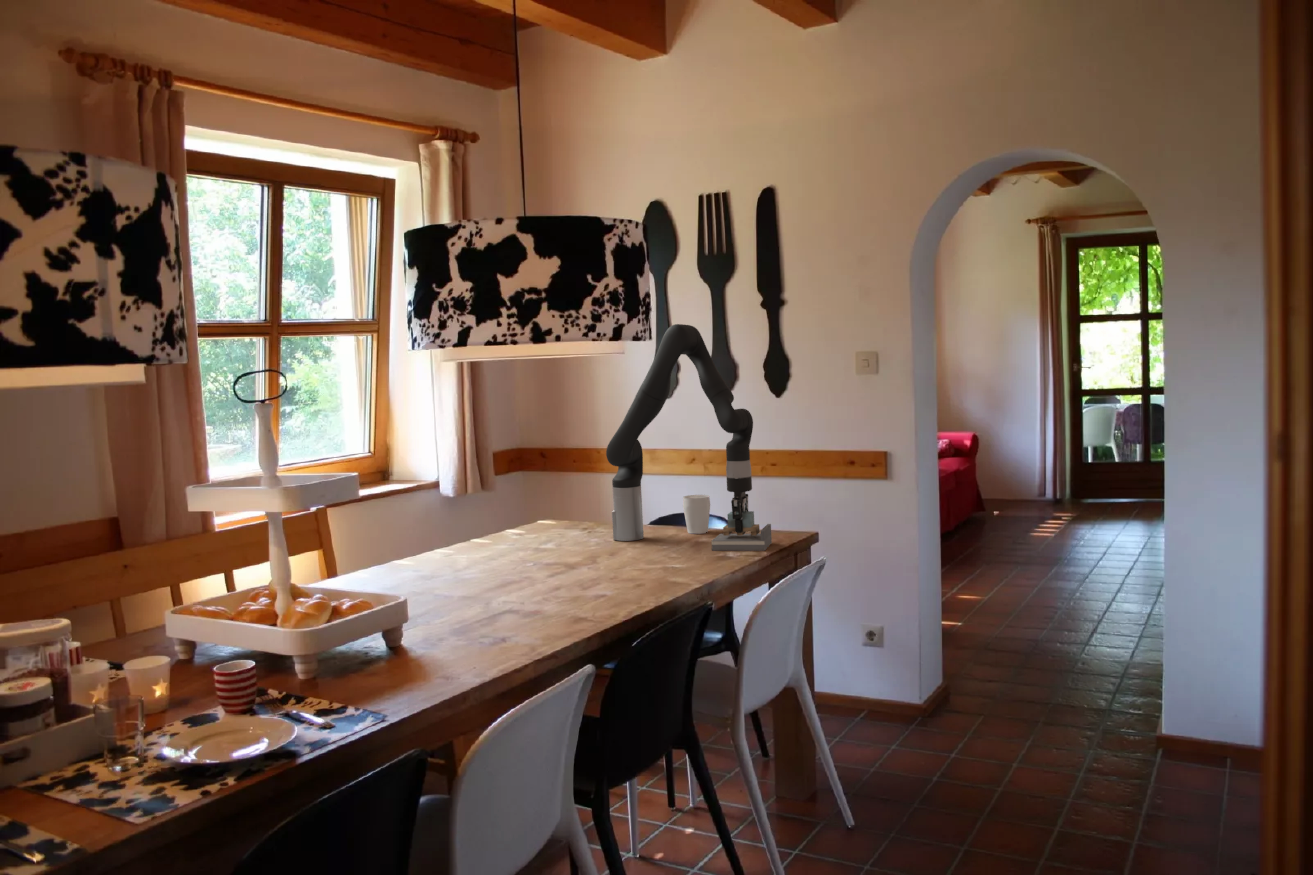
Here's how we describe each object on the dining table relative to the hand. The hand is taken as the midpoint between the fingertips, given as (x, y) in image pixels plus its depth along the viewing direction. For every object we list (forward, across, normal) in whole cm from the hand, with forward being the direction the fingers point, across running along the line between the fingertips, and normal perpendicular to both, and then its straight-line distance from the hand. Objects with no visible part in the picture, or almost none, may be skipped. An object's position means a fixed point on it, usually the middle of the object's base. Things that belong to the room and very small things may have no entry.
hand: (741, 530), depth 320 cm
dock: (+5, 0, 0) cm, 5 cm away
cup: (+5, -26, -20) cm, 33 cm away
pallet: (+1, 0, 0) cm, 1 cm away
